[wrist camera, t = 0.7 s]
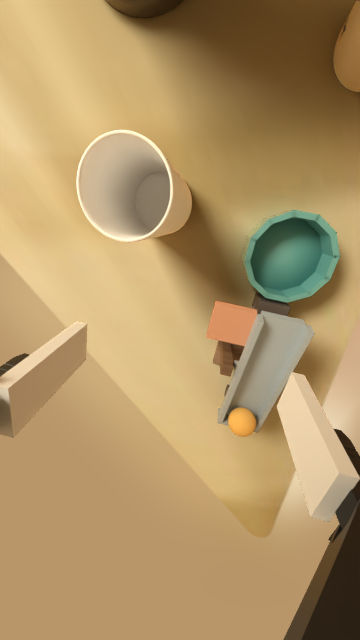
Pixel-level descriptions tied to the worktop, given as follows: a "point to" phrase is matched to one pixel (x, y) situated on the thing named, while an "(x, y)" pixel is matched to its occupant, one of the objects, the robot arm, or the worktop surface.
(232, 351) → the stand
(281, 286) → the dish
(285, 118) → the worktop surface
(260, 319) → the lever
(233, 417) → the ball
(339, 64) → the coffee cup
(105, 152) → the cup
